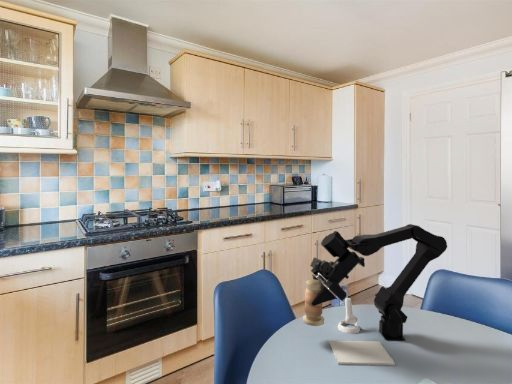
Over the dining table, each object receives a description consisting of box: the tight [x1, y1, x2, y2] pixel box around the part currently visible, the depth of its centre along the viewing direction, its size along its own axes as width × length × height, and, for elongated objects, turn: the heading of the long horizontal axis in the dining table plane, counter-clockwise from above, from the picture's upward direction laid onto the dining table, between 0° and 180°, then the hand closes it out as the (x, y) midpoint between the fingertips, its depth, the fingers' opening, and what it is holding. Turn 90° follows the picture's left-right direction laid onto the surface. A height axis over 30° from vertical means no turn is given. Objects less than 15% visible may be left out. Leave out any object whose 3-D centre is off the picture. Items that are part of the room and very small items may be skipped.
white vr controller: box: [337, 297, 361, 335], centre depth 112 cm, size 8×12×7 cm
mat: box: [329, 340, 396, 366], centre depth 95 cm, size 16×12×1 cm
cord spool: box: [302, 278, 325, 327], centre depth 101 cm, size 7×7×13 cm
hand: (309, 301), depth 101 cm, fingers closed on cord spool, 6 cm apart
